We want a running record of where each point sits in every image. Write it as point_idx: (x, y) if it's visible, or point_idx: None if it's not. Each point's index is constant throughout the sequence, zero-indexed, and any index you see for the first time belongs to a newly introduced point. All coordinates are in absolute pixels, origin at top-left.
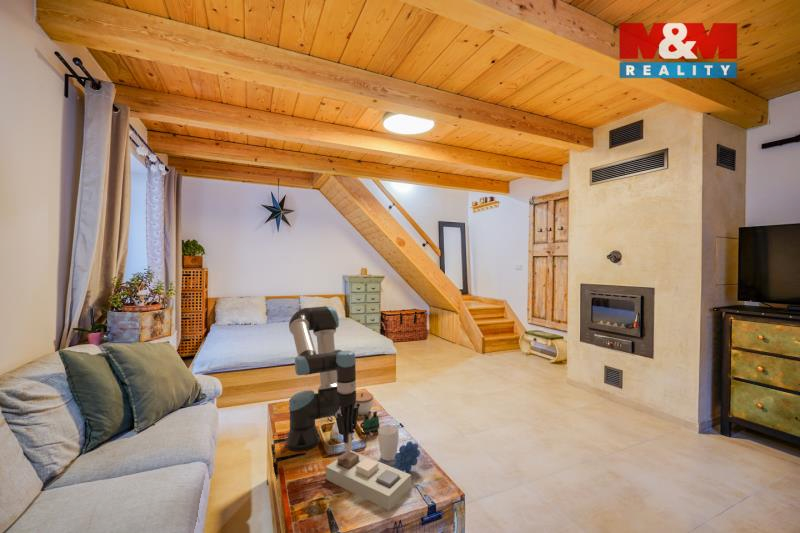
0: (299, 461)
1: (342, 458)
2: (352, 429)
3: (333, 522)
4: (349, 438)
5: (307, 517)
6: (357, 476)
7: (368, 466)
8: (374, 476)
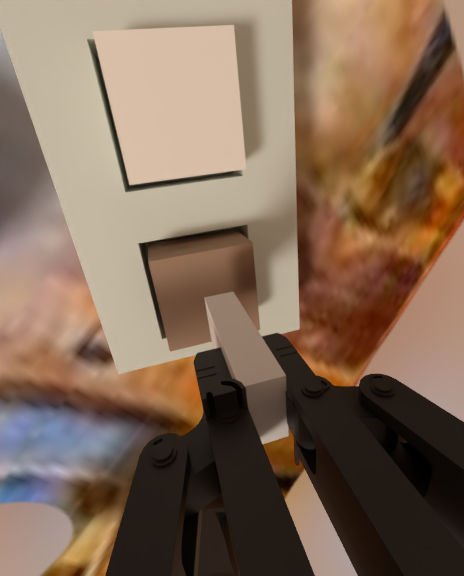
0: (266, 446)
1: (248, 303)
2: (223, 431)
3: (435, 49)
4: (261, 349)
5: (448, 168)
6: (259, 124)
7: (193, 72)
8: (183, 7)
